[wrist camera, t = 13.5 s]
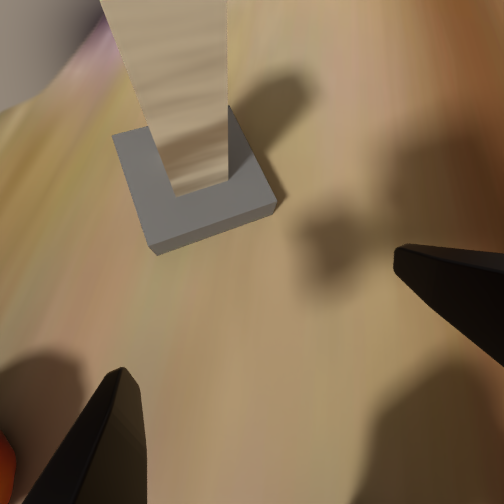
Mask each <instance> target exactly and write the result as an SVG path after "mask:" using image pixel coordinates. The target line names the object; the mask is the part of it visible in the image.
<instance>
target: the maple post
mask: <svg viewBox="0 0 504 504" xmlns="http://www.w3.org/2000/svg"><path fill="white" fill-rule="evenodd" d="M100 3H101V5H102V8H103V11H104V13H105V16H106V18H107V21H108V23H109V26H110V29H111V31H112V34H113V36H114V39H115V41H116V44H117V47H118V49H119V52H120V54H121V57H122V59H123V62H124V65H125V67H126V70H127V72H128V75H129V78H130V80H131V83H132V85H133V88H134V90H135V93H136V96H137V98H138V101H139V103H140V106H141V108H142V111H143V114H144V116H145V119H146V121H147V124H148V126H149V129H150V132H151V134H152V137H153V139H154V142H155V144H156V147H157V150H158V152H159V155H160V157H161V160H162V163H163V165H164V168H165V170H166V173H167V175H168V178H169V181H170V183H171V186H172V188H173V191H174V193H175V196H176V197H179V196H182V195H185V194H188V193H191V192H194V191H197V190H200V189H203V188H207V187H210V186H213V185H216V184H219V183H222V182H225V181H228V77H227V0H100Z"/></svg>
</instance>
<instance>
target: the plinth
mask: <svg viewBox="0 0 504 504" xmlns="http://www.w3.org/2000/svg"><path fill="white" fill-rule="evenodd" d="M112 138H113V141H114V144H115V147H116V150H117V153H118V156H119V160H120V163H121V166H122V169H123V172H124V175H125V178H126V181H127V184H128V187H129V190H130V193H131V196H132V199H133V202H134V205H135V208H136V211H137V214H138V217H139V220H140V223H141V226H142V229H143V232H144V235H145V238H146V241H147V244H148V247H149V248H150V249H151V250H152V251H153V252H154V253H155V254H156V255H157V256H158V255H161V254H164V253H166V252H169V251H172V250H175V249H177V248H180V247H183V246H186V245H189V244H191V243H194V242H197V241H200V240H203V239H205V238H208V237H211V236H214V235H217V234H219V233H222V232H225V231H228V230H230V229H233V228H236V227H239V226H242V225H244V224H247V223H250V222H253V221H256V220H258V219H261V218H264V217H267V216H269V215H272V214H273V212H274V209H275V206H276V204H277V199H276V197H275V195H274V193H273V191H272V189H271V187H270V185H269V183H268V181H267V180H266V178H265V176H264V174H263V172H262V170H261V168H260V166H259V164H258V162H257V160H256V158H255V156H254V154H253V152H252V150H251V148H250V146H249V144H248V142H247V140H246V138H245V136H244V134H243V132H242V130H241V128H240V126H239V124H238V122H237V120H236V118H235V116H234V114H233V112H232V110H231V108H230V106H229V105H228V181H225V182H222V183H219V184H216V185H213V186H210V187H207V188H203V189H200V190H197V191H194V192H191V193H188V194H185V195H182V196H179V197H176V196H175V193H174V191H173V188H172V186H171V183H170V181H169V178H168V175H167V173H166V170H165V168H164V165H163V163H162V160H161V157H160V155H159V152H158V150H157V147H156V144H155V142H154V139H153V137H152V134H151V132H150V129H149V126H146V127H143V128H139V129H135V130H131V131H127V132H123V133H119V134H115V135H112Z"/></svg>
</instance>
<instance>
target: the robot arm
mask: <svg viewBox="0 0 504 504" xmlns="http://www.w3.org/2000/svg"><path fill="white" fill-rule="evenodd" d="M393 269H394V272H395V274H396V275H397V276H398V277H399V278H400V279H401V280H402V281H403V282H404V283H405V284H406V285H407V286H408V287H409V288H410V289H412V290H413V291H414V292H415V293H416V294H417V295H418V296H419V297H420V298H421V299H422V300H423V301H424V302H425V303H426V304H427V305H428V306H429V307H430V308H432V309H433V310H434V311H435V312H436V313H438V314H439V315H440V316H441V317H442V318H444V319H445V320H446V321H447V322H449V323H450V324H451V325H452V326H454V327H455V328H456V329H457V330H459V331H460V332H461V333H462V334H463V335H465V336H466V337H467V338H468V339H470V340H471V341H472V342H473V343H475V344H476V345H477V346H478V347H479V348H481V349H482V350H483V351H484V352H486V353H487V354H488V355H489V356H491V357H492V358H493V359H494V360H496V361H497V362H498V363H499V364H500V365H502V366H503V367H504V254H503V253H493V252H484V251H474V250H465V249H455V248H446V247H436V246H427V245H417V244H404V245H402V246H399V247H397V248H396V249H395V251H394V262H393ZM22 504H147V448H146V437H145V428H144V420H143V411H142V402H141V393H140V388H139V386H138V384H137V382H136V381H135V380H134V378H133V377H132V376H131V374H130V373H129V371H128V370H127V369H126V368H125V367H120V368H118V369H115V370H113V371H111V372H109V373H107V374H106V376H105V377H104V379H103V380H102V382H101V383H100V385H99V386H98V388H97V389H96V391H95V392H94V394H93V395H92V397H91V398H90V400H89V401H88V403H87V405H86V406H85V408H84V409H83V411H82V412H81V414H80V415H79V417H78V418H77V420H76V421H75V423H74V424H73V426H72V427H71V429H70V431H69V432H68V434H67V435H66V437H65V438H64V440H63V441H62V443H61V444H60V446H59V447H58V449H57V450H56V452H55V453H54V455H53V457H52V458H51V460H50V461H49V463H48V464H47V466H46V467H45V469H44V470H43V472H42V473H41V475H40V476H39V478H38V479H37V481H36V483H35V484H34V486H33V487H32V489H31V490H30V492H29V493H28V495H27V496H26V498H25V499H24V501H23V502H22Z"/></svg>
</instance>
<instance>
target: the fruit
mask: <svg viewBox="0 0 504 504" xmlns="http://www.w3.org/2000/svg"><path fill="white" fill-rule="evenodd" d="M15 471H16V456H15V452H14V450H13V449H12V447H11V446H10V444H9V442H8V441H7V439H6V437H5V435H4V434H3V432H2V430H0V504H8V502H9V500H10V498H11V494H12V490H13V483H14V476H15Z"/></svg>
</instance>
